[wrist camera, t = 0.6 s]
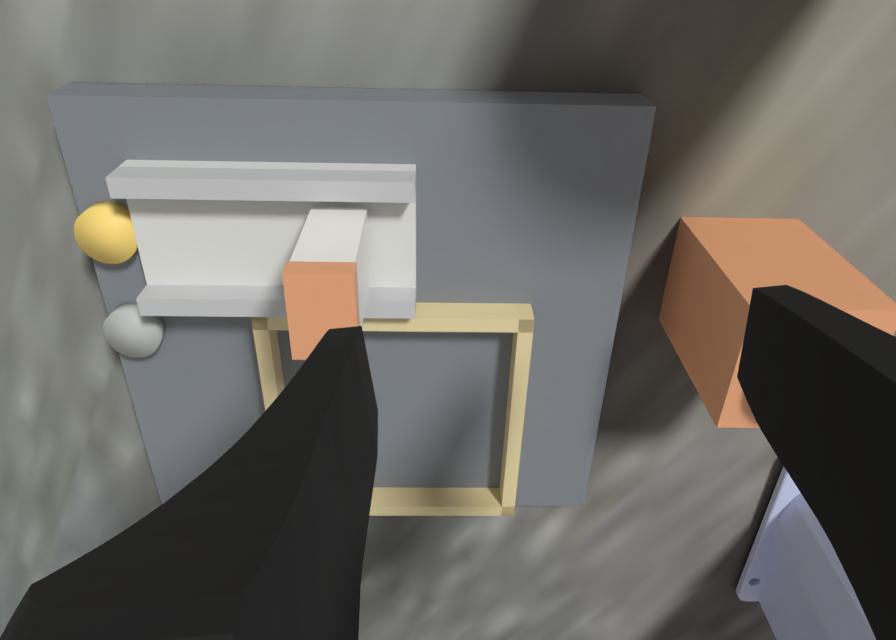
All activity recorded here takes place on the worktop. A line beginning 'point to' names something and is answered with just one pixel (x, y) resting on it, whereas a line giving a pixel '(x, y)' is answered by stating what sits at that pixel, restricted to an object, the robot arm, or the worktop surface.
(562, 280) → the panel
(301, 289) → the block
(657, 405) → the worktop surface
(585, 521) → the worktop surface
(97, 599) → the robot arm
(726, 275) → the cap
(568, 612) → the worktop surface
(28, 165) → the worktop surface
